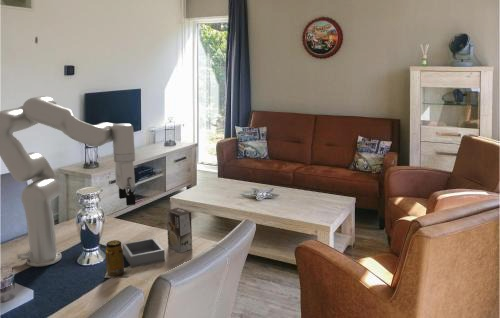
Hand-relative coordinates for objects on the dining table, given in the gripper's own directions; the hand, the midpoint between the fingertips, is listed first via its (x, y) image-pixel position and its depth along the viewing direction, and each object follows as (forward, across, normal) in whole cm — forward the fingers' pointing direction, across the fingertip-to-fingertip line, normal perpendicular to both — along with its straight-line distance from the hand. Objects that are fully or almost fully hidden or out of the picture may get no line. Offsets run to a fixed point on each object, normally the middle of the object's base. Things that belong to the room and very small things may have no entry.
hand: (127, 201), depth 174 cm
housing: (+25, -2, +6) cm, 25 cm away
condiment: (+25, +7, -7) cm, 27 cm away
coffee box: (+25, -3, +22) cm, 33 cm away
